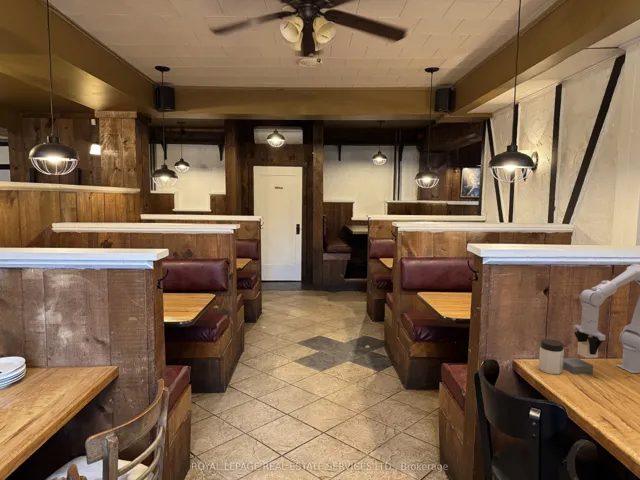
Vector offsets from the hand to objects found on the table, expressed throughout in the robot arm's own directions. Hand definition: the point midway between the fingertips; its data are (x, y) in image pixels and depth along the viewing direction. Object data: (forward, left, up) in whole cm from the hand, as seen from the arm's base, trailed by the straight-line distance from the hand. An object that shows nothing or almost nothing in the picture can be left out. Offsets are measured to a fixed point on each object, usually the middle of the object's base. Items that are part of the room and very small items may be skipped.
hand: (587, 351), depth 171 cm
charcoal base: (+3, -3, -9) cm, 10 cm away
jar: (+14, -3, -9) cm, 16 cm away
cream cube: (0, 0, -2) cm, 2 cm away
